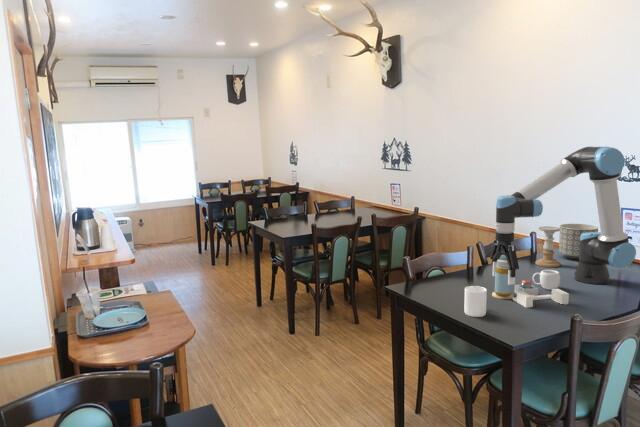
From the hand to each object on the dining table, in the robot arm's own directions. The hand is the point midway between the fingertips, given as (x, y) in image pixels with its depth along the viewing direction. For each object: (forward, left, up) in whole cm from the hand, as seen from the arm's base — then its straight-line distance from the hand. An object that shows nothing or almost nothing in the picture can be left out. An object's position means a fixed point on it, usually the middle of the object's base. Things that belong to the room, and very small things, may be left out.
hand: (503, 280), depth 214 cm
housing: (-11, +6, -7) cm, 15 cm away
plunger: (-11, 0, -6) cm, 12 cm away
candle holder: (-50, -43, -8) cm, 66 cm away
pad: (0, 0, -7) cm, 7 cm away
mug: (-25, -7, -8) cm, 27 cm away
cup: (+20, +16, -8) cm, 27 cm away
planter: (-74, -52, -8) cm, 91 cm away
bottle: (0, 0, -7) cm, 7 cm away
